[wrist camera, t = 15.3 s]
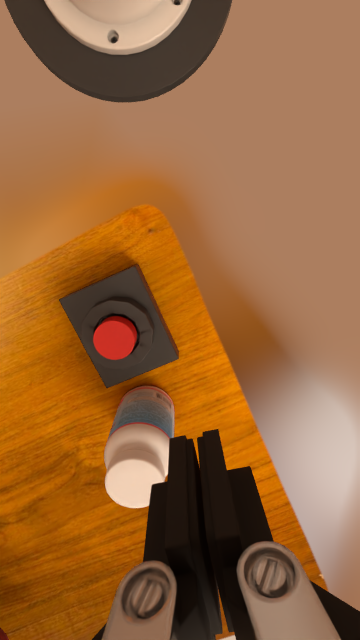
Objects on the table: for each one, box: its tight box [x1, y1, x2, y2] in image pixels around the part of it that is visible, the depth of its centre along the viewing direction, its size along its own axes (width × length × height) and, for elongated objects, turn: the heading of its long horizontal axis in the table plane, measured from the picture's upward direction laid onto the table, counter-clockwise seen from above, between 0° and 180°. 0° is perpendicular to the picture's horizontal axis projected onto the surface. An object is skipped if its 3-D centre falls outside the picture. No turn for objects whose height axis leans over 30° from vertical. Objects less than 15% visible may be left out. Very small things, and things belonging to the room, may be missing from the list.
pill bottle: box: [104, 386, 174, 508], centre depth 31 cm, size 6×6×11 cm
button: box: [93, 316, 137, 360], centre depth 29 cm, size 4×4×2 cm
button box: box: [59, 264, 179, 388], centre depth 32 cm, size 10×8×4 cm
